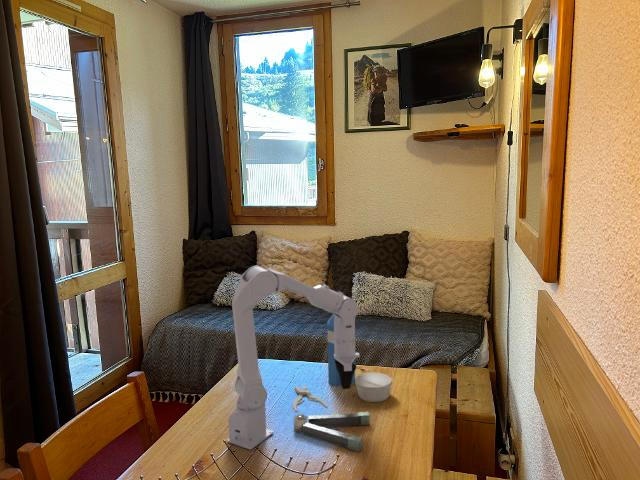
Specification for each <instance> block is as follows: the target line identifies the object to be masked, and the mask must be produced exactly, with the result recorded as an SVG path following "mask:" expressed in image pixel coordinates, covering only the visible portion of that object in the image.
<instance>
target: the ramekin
mask: <svg viewBox="0 0 640 480" xmlns="http://www.w3.org/2000/svg"><path fill="white" fill-rule="evenodd" d="M354 384H355V385H356V390H357V394H358V397H359V398H360V399H361V400H363V401H365V402H370V403H379V402H384V401H385V400H387V399H388V398H389V397H390V394H391V390H392V389H391V388H392V384H393V379H392V377H390V375H388V374H385V373H382V372H367V373H361V374H359V375H357V376H355V383H354Z"/></svg>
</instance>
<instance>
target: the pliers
mask: <svg viewBox="0 0 640 480" xmlns="http://www.w3.org/2000/svg"><path fill="white" fill-rule="evenodd" d="M294 391H295V392H296V394H297V395H298V396H297V397H296V398H294V400H293V402H292V409H293V410H294V412H295V413H298V407H297V406H298V405H300V404H303V402H304V401H305V398H303V397H304V396H306V397H307V401H311V402H318V403H320V404H321V405H323V406H324V407H325V408H327V409H328V404H327V402H326V401H325V400H324V399H322V398H321V397H319V396H317V395H314V394H312V393H311V392H310V391H309V390H308V387H307V386H306V384H303V386H302V388H300V387H299V386H297V385H295V386H294Z"/></svg>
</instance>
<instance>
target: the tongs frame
mask: <svg viewBox="0 0 640 480" xmlns="http://www.w3.org/2000/svg"><path fill="white" fill-rule="evenodd" d="M293 431H294V432H295V433H296V434H297V433H298V434H303V435H304V436H307V437H311V438H314V439H318V440H321V441H324V442H327V443H331V444H332V445H333V444H334V445H337V446H341V447H344V448H346V449H348V450H352V451H354V452H358V453H359V452H360V451H361V450H362V449H363V440H364V439H363V437H361V436H357V435H354V434H349V433H344V432H341V431H337V430H334V429H332V428H331V429H330V428H327V427H321V426H317V425H314V424H310V423H309V422H308V416H306V415H304V414H302V413H299V414H296V415H294V417H293Z"/></svg>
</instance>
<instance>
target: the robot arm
mask: <svg viewBox="0 0 640 480" xmlns="http://www.w3.org/2000/svg"><path fill="white" fill-rule="evenodd" d="M283 290H288V291H289V292H292V293H295V294H297V295H300V296H302V297H305V298H308V301H309V304H311V306H314V307H315V308H319V309H322V310H323V311H326V312H328V313H331V314H332V315H333V314H334V348H335V353H334V358H335V359H334V361H335V363H336V364H335V365H336V369H337V371H338V373H339V376H340V381H341V385H342V386H341V388H342V390H350V389H351V387H352V384H351V382H352V377H353V374H354V372H355V373H356V370H357V364H356V363H355V364H353V363H354V360H356V358H360V357H361V355H360V353H359V352H356V326H355V325H356V324H355V321H356V316H357V315H358V313H359V309H360V308H359V307H358V305H357V302H356V301H355V300H354V299H352V298H351V297H348V296H346V295H345V294H344V293H343V292H341V291H336V290H333V289H331V288H330V286H329V285H326V284H322V285H321V284H317V285H315V286H311V285H309V284H307V283H304V282H302V281H300V280H298V279H296V278H294V277H292V276H290V275H287V274H286V273H284V272H280V271H277V270H274V269H271V268H266V269H265V268H264V267H262V266H260V265H252V266H250V267H249V268H247V270H245V272H243V273H242V274H241V275H240V279H239V283H238V286H237V287H236V290H235V292H234V295H233V296H232V299H231V306H232V317H233V326H234V336H235V344H236V345H235V346H236V354H237V356H236V358H237V363H238V368H237V370H236V380H235V381H234V382H235V383H234V389H235V392H236V394H238V398H237V401H236V407H235V409H234V410H233V412H232V413H231V414H230V415H229V417H228V437H229V438H227V439H226V441H227V443H230V444H232V445H235V446H238V447H241V448H243V449H248V450H253V449H254V448H255V447H256V446H258V445H259V444H260V443H262V442H263V441H265V440H266V439H267V438H269V437H270V436H272V435H273V434H274V430H272V429H268V428H267V415H266V414H267V413H266V401H267V399H268V392H267V389H266V388H265V386H264V384H263V378H262V375H261V372H260V369H259V359H258V348H257V339H256V329H255V320H254V319H255V318H254V307H256V306H257V304H258V303H259V302H261V301H263V300H265V299H266V298H267V297H269V296H271V295H272V294H273V293H274V292H275V291H276V292H278V293H280V292H282V291H283ZM335 314H336V315H335Z"/></svg>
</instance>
